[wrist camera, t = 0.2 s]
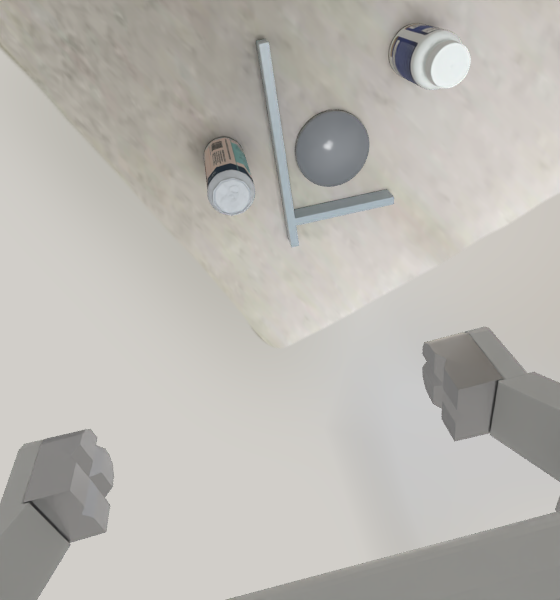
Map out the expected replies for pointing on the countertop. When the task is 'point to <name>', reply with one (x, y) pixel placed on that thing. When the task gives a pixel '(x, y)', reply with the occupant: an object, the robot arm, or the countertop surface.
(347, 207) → the divider wall
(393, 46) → the pill bottle
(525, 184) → the countertop surface
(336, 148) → the coaster
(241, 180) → the beer can
